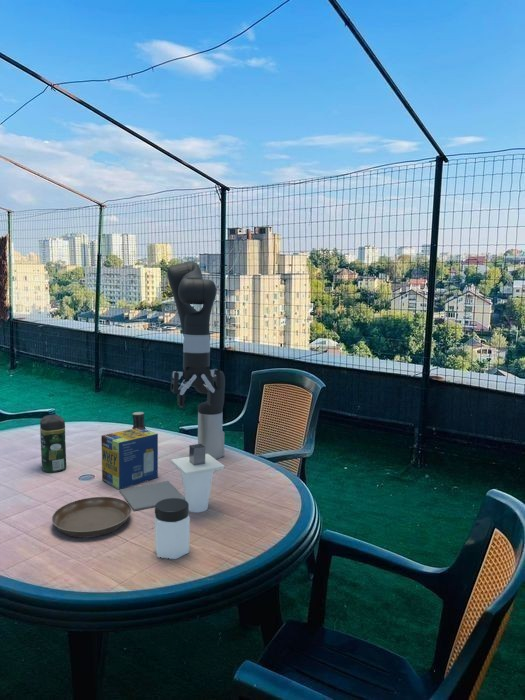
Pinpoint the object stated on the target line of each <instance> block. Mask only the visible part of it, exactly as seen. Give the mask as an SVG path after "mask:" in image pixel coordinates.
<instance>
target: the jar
mask: <svg viewBox="0 0 525 700" xmlns="http://www.w3.org/2000/svg"><path fill="white" fill-rule="evenodd" d="M189 513H190V511H189V504H188V502H187V501H185V500H183V499H179V498H168V499H164V500H161V501H159V502H158V503H156V505H155V507H154V550H155V554H156V556H157V557H156V558H160V557H161V558H162V559H168V558H169V560H176V559H179V558H181V557H183V556H185V555H186V554H189V553H190V540H191V539H190V533H191V532H190V522H191V521H190V514H189ZM161 558H160V559H161Z"/></svg>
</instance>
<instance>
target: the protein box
mask: <svg viewBox="0 0 525 700" xmlns="http://www.w3.org/2000/svg"><path fill="white" fill-rule="evenodd" d="M132 428H133V427H132ZM132 428H129V429H126V430H125V429H124V430H121V431H116V432H112V433H108V434H103V435H101V436H100V437H101V479H102V481H103V482H104V483H107V484H108V485H109V486H112V487H114V488H116V489H118V490H119V489H125V488H129V487H131V486H135V485H137V484H141V483H144V482H147V480H148V481H151V480H153V478H154V479H157V478H158V477H159V473H158V472H159V471H158V470H159V456H158V455H159V438H158V437H159V434H158V433H157V432H154V431H153V430H152V431H151V430H149V429H147V428H146V429H144V428H141V427H137V428H133V429H132ZM150 479H151V480H150Z"/></svg>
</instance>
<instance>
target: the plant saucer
mask: <svg viewBox="0 0 525 700" xmlns="http://www.w3.org/2000/svg"><path fill="white" fill-rule="evenodd" d="M132 510H133V509H132V508H131V506H130V505H129V504H128V502H127V501H126V500H123V499H120V498H116V497H111V496H97V497H96V496H95V497H94V496H93V497H87V498H86V497H85V498H81V499H78V500H74V501H71V502H69V503H67V504H64V505H63V506H61V507H59V508H58V509H57V510H56V511H54V513H53V514H52V517H51V521H52V523H53V525H54V526H55V528H56V529H57V530H59V531H60V532H62V533H63V534H64V535H66V536H70V537H74V538H94V537H101V536H104V535H107V534H109V533H111V532H114V531H115V530H117V529H119V528H120V527H122V526H123V524H124V523H125V522H126V521H127V520H128V519H129V518H130V516H131V513H132Z"/></svg>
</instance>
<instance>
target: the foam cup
mask: <svg viewBox="0 0 525 700" xmlns="http://www.w3.org/2000/svg"><path fill="white" fill-rule="evenodd" d="M214 472H215V471H209V472H204V473H198V474H192V475H186V476H185V475H184V474H183V473H182V472H181V471H180V475H181V478H182V479H181V480H182V487H183V496H184V497H185V501H187V502H188V504H189V513H202V512H205V511H207V510H208V508H209V503H210V501H209V500H210V495H211V489H212V481H213V475H214Z"/></svg>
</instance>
